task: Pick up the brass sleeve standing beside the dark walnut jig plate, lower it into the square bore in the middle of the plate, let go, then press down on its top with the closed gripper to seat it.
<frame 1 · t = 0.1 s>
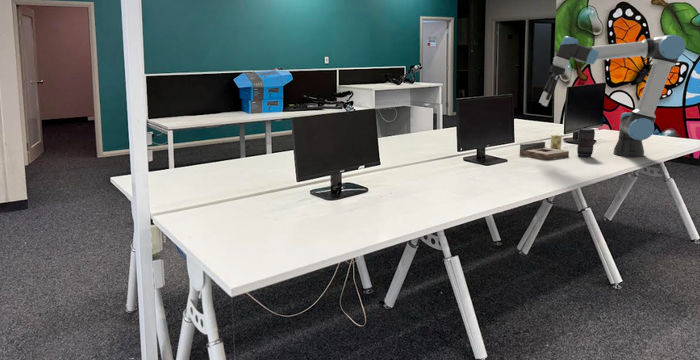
hand: (542, 104, 300), 28 cm above the table, tool tilted 20°, fingers open, 13 cm apart
brass sleeve: (555, 151, 318), on the table
jig plate: (543, 155, 305), on the table
camera lens: (584, 156, 303), on the table
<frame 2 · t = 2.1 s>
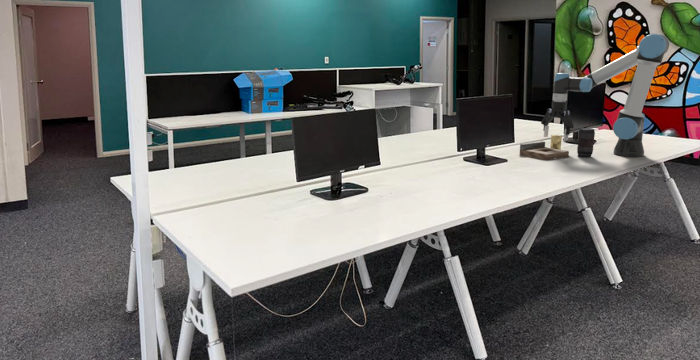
hand: (555, 138, 317), 7 cm above the table, tool pointing down, fingers open, 13 cm apart
nothing on the table moved.
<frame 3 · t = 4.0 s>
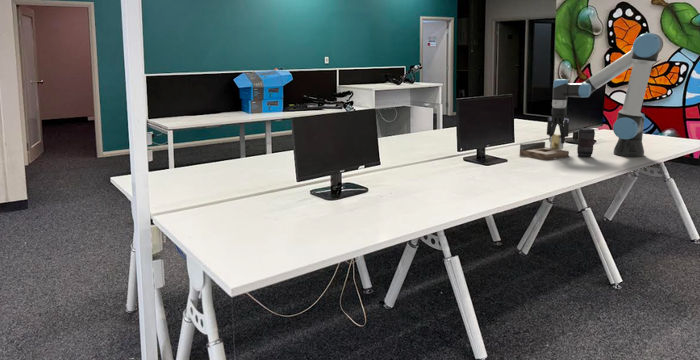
hand: (556, 148, 318), 2 cm above the table, tool pointing down, fingers closed on brass sleeve, 5 cm apart
brass sleeve: (556, 150, 318), on the table, touching gripper
everything else where it was.
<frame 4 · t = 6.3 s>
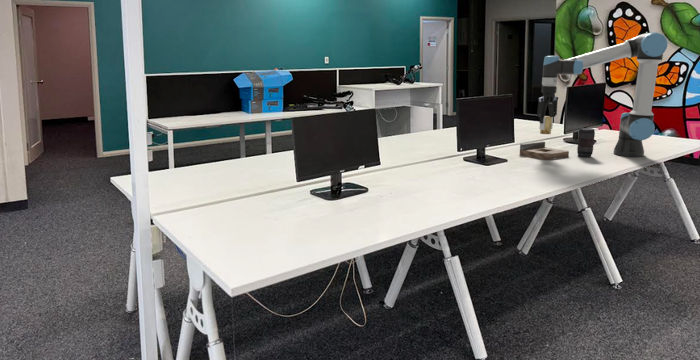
hand: (545, 129, 301), 15 cm above the table, tool pointing down, fingers closed on brass sleeve, 5 cm apart
brass sleeve: (545, 133, 302), point 12 cm above the table, touching gripper
everything else where it was.
when the fingers open (4 cm above the table, at t = 8.4 s): brass sleeve drops 2 cm, on the table.
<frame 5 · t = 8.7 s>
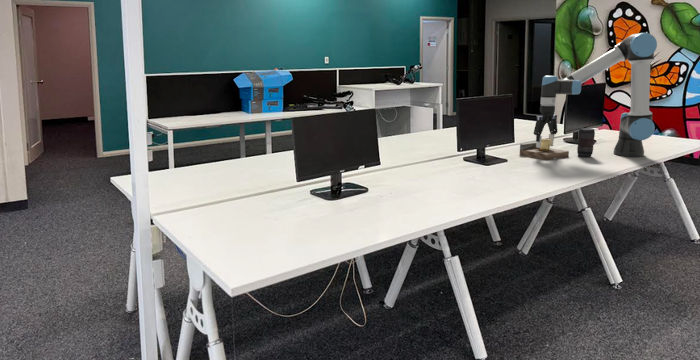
hand: (544, 146, 303), 5 cm above the table, tool pointing down, fingers open, 9 cm apart
brass sleeve: (543, 155, 305), on the table
everything else where it was.
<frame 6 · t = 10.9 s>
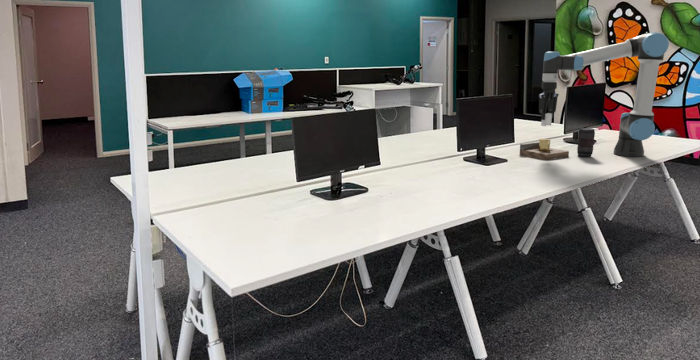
hand: (546, 125, 301), 17 cm above the table, tool pointing down, fingers open, 3 cm apart
nothing on the table moved.
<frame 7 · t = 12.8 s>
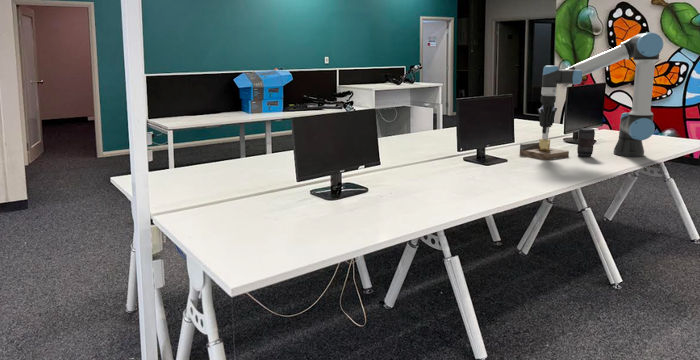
hand: (545, 139, 303), 9 cm above the table, tool pointing down, fingers closed
brass sleeve: (543, 155, 305), on the table, touching gripper
everything else where it was.
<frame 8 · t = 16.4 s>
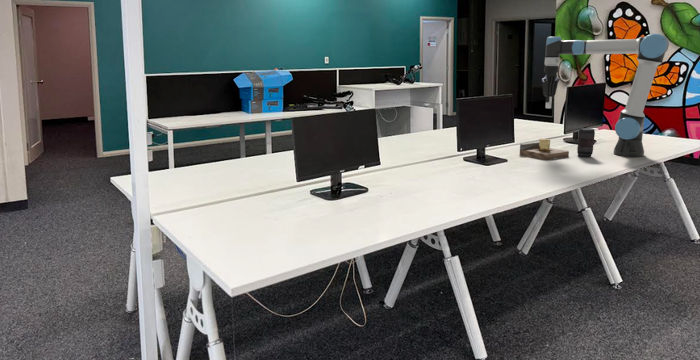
hand: (548, 108, 314), 24 cm above the table, tool pointing down, fingers closed
brass sleeve: (543, 155, 305), on the table
everything else where it was.
at the end: brass sleeve 0.1 cm off-centre on the jig plate, point 0.0 cm above the jig plate's base; brass sleeve tilted 0°; the gripper is holding nothing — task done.
